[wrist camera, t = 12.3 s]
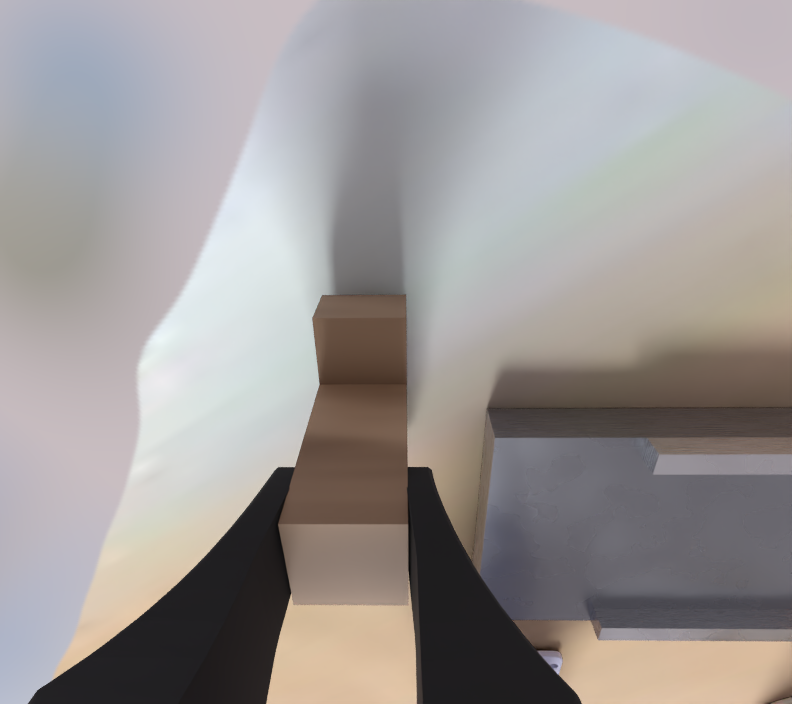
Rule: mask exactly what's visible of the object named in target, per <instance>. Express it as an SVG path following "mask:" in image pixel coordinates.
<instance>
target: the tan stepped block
mask: <svg viewBox="0 0 792 704" xmlns="http://www.w3.org/2000/svg"><path fill="white" fill-rule="evenodd" d="M312 319H313V328H314V337H315V346H316V355H317V364H318V373H319V383H320V385H319V389H318V392H317V395H316V399H315V402H314V405H313V409H312V412H311V415H310V419H309V422H308V426H307V429H306V432H305V436H304V439H303V442H302V446H301V449H300V452H299V456H298V459H297V462H296V466H295V469H294V472H293V476H292V479H291V483H290V486H289V487H290V489H289V491H288V494H287V496H286V499H285V503H284V506H283V509H282V513H281V516H280V519H279V523H278V527H279V532H280V537H281V542H282V547H283V552H284V558H285V563H286V568H287V573H288V578H289V583H290V588H291V594H292V599H293V604H294V605H408V494H407V487H408V465H407V353H406V295H322V297H321V299H320V302H319V304H318V306H317V309H316V311H315V313H314V316H313V318H312Z"/></svg>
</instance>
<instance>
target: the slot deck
mask: <svg viewBox="0 0 792 704" xmlns="http://www.w3.org/2000/svg"><path fill="white" fill-rule="evenodd" d="M472 563H473V565H474V566H475V568H476V569H477V571H478V573H479V574H480V576H481V577H482V579H483V580H484V582H485V583H486V585H487V587H488V588H489V589H490V591H491V592H492V594H493V595H494V597H495V598H496V599H497V601H498V602H499V604H500V605H501V607H502V608H503V609H504V610H505V612H506V613H507V614H508V616H509V617H510V618H511V619H512V620H591V622H592V625H593V628H594V631H595V634H596V636H597V639H598V640H657V641H792V408H556V409H487V414H486V425H485V435H484V446H483V456H482V466H481V477H480V487H479V498H478V508H477V518H476V529H475V539H474V550H473V560H472Z"/></svg>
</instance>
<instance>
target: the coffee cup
mask: <svg viewBox="0 0 792 704" xmlns="http://www.w3.org/2000/svg"><path fill="white" fill-rule="evenodd" d="M770 704H792V697H789V698H785V699H782V700H779V701H775V702H773V703H770Z"/></svg>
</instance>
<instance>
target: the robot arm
mask: <svg viewBox="0 0 792 704" xmlns="http://www.w3.org/2000/svg"><path fill="white" fill-rule="evenodd" d="M294 469H295V467H278V468H277V469H276V470H275V471H274V472H273V474H272V475H271V477H270V478H269V479H268V481H267V482H266V483H265V485H264V486H263V488H262V489H261V490H260V492H259V493H258V494H257V496H256V497H255V498H254V499H253V501H252V502H251V503H250V505H249V506H248V507H247V508H246V510H245V511H244V512H243V513H242V515H241V516H240V517H239V518H238V519H237V521H236V522H235V523H234V524H233V526H232V527H231V528H230V529H229V530H228V531H227V533H226V534H225V535H224V536H223V537H222V538H221V539H220V540H219V542H218V543H217V544H216V545H215V546H214V547H213V548H212V549H211V550H210V552H209V553H208V554H207V555H206V556H205V557H204V558H203V559H202V560H201V561H200V562H199V563H198V564H197V565H196V566H195V567H194V568H193V569H192V570H191V571H190V572H189V573H188V574H187V575H186V576H185V577H184V578H183V579H182V580H181V581H180V582H179V583H178V584H177V585H176V586H175V587H173V588H172V589H171V590H170V591H169V592H168V593H167V594H166V595H164V596H163V597H162V598H161V599H160V600H159V601H158V602H157V603H155V604H154V605H153V606H152V607H151V608H150V609H149V610H147V611H146V612H145V613H144V614H143V615H141V616H140V617H139V618H138V619H137V620H135V621H134V622H133V623H131V624H130V625H129V626H128V627H126V628H125V629H124V630H122V631H121V632H120V633H119V634H117V635H116V636H115V637H113V638H112V639H111V640H110V641H108V642H107V643H106V644H104V645H103V646H102V647H100V648H99V649H98V650H96V651H95V652H93V653H92V654H91V655H89V656H88V657H86V658H85V659H83V660H82V661H80V662H79V663H78V664H76V665H75V666H73V667H72V668H70V669H69V670H67V671H66V672H64V673H63V674H61V675H60V676H58V677H57V678H55V679H54V680H52V681H51V682H49V683H48V684H46V685H45V686H43V687H42V688H40V689H39V690H37V692H36V693H35V694H34V696H33V697H32V699H31V700H30V702H29V703H28V704H266V701H267V695H268V690H269V684H270V679H271V673H272V668H273V663H274V657H275V652H276V648H277V643H278V639H279V635H280V631H281V628H282V624H283V621H284V617H285V613H286V610H287V606H288V603H289V599H290V595H291V588H290V583H289V578H288V573H287V568H286V563H285V558H284V552H283V547H282V542H281V537H280V532H279V527H278V523H279V519H280V516H281V513H282V509H283V506H284V503H285V499H286V496H287V494H288V491H289V489H290V487H289V486H290V483H291V479H292V476H293V472H294ZM407 494H408V571H409V581H410V591H411V601H412V611H413V621H414V631H415V645H416V676H417V704H582V703H581V701H580V699H579V697H578V695H577V694H576V693H575V692H574V691H573V690H572V689H571V687H570V686H569V685H568V684H567V683H566V682H565V681H564V680H563V679H562V678H561V677H560V676H559V672H560V669H561V665H562V662H563V659H562V655H561V653H560V652H558V651H537V650H536V649H535V648H534V647H533V646H532V644H531V643H530V642H529V641H528V640H527V639H526V637H525V636H524V635H523V634H522V632H521V631H520V630H519V628H518V627H517V626H516V625H515V623H514V622H513V621H512V619H511V618H510V617H509V616H508V614H507V613H506V612H505V610H504V609H503V608H502V607H501V605H500V604H499V602H498V601H497V599H496V598H495V597H494V595H493V594H492V592H491V591H490V589H489V588H488V587H487V585H486V583H485V582H484V580H483V579H482V577H481V576H480V574H479V573H478V571H477V569H476V568H475V566H474V565H473V563H472V561H471V560H470V558H469V556H468V554H467V553H466V551H465V549H464V547H463V545H462V544H461V542H460V540H459V538H458V536H457V534H456V532H455V530H454V528H453V526H452V524H451V522H450V520H449V517H448V515H447V513H446V511H445V509H444V506H443V504H442V501H441V499H440V496H439V494H438V491H437V488H436V485H435V482H434V478H433V474H432V470H431V469H430V468H428V467H408V487H407Z"/></svg>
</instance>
